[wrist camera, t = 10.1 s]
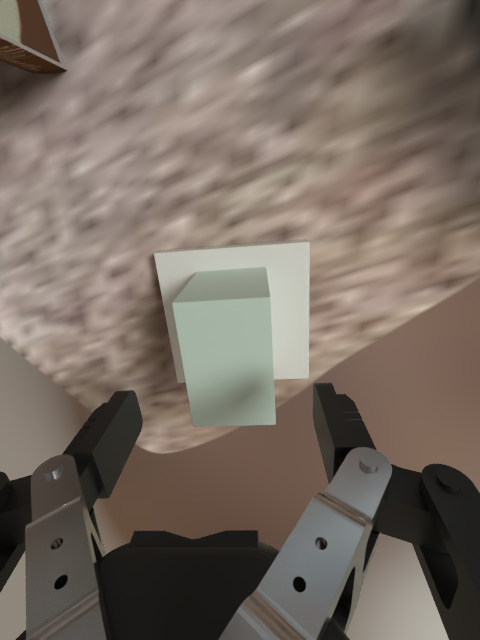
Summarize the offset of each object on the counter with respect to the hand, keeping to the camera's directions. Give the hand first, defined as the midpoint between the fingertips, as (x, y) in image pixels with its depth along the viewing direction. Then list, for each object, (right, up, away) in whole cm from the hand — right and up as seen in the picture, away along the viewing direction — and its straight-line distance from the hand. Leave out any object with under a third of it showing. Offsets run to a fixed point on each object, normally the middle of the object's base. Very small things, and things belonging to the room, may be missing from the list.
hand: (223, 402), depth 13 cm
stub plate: (+1, +4, +11) cm, 12 cm away
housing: (0, +4, +10) cm, 10 cm away
